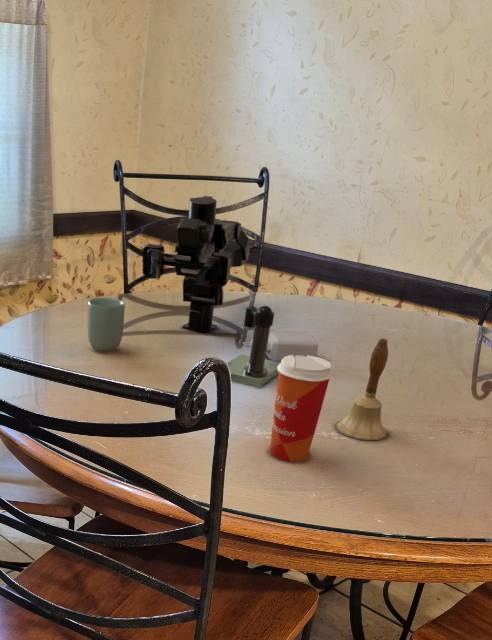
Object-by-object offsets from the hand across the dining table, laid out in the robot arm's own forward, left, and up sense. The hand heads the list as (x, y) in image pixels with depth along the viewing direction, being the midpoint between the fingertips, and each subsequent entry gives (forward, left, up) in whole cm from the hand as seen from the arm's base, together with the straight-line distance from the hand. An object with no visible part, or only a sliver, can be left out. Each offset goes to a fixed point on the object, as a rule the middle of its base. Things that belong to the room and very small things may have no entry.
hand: (172, 278), depth 145 cm
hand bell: (+14, +46, -16) cm, 51 cm away
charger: (-16, +19, -16) cm, 30 cm away
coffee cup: (+31, +39, -16) cm, 52 cm away
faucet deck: (-1, +19, -16) cm, 25 cm away
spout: (0, +19, -7) cm, 21 cm away
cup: (+4, -13, -16) cm, 21 cm away
